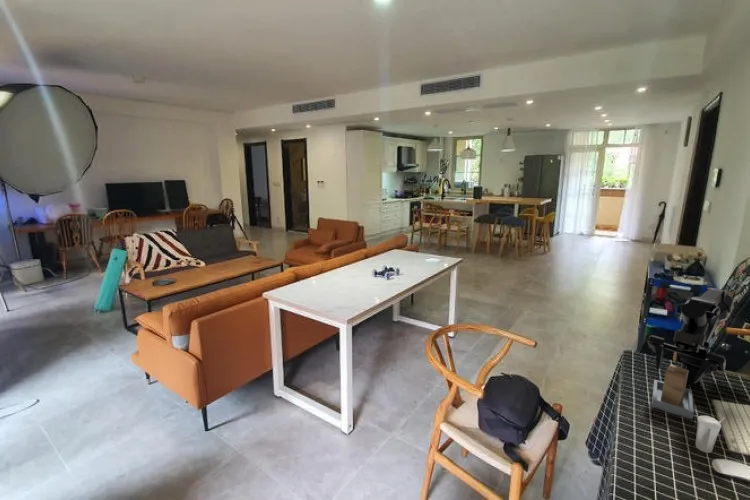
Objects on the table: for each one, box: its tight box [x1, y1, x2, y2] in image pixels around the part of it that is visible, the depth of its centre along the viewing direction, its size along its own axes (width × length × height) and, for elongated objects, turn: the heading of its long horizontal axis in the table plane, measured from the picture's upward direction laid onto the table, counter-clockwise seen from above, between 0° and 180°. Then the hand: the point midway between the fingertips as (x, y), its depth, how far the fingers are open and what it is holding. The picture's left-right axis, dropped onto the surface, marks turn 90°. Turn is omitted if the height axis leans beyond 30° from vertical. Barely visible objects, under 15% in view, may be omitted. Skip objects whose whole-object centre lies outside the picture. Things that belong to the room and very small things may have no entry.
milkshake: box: [695, 415, 726, 454], centre depth 96 cm, size 4×5×10 cm
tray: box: [651, 379, 694, 421], centre depth 116 cm, size 14×10×2 cm
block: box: [661, 363, 689, 407], centre depth 114 cm, size 4×4×11 cm
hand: (675, 375), depth 112 cm, fingers open, 9 cm apart
